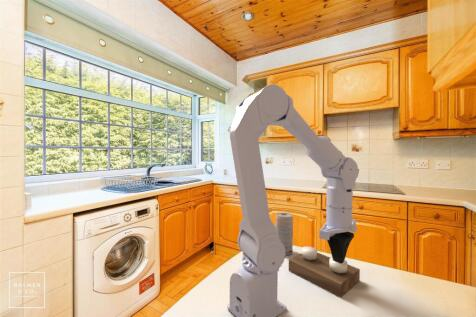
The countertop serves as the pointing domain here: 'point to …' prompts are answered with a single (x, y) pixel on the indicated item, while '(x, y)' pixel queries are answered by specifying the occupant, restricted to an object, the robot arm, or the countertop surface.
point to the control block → (324, 274)
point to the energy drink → (285, 230)
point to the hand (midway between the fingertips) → (338, 261)
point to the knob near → (338, 266)
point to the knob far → (309, 253)
